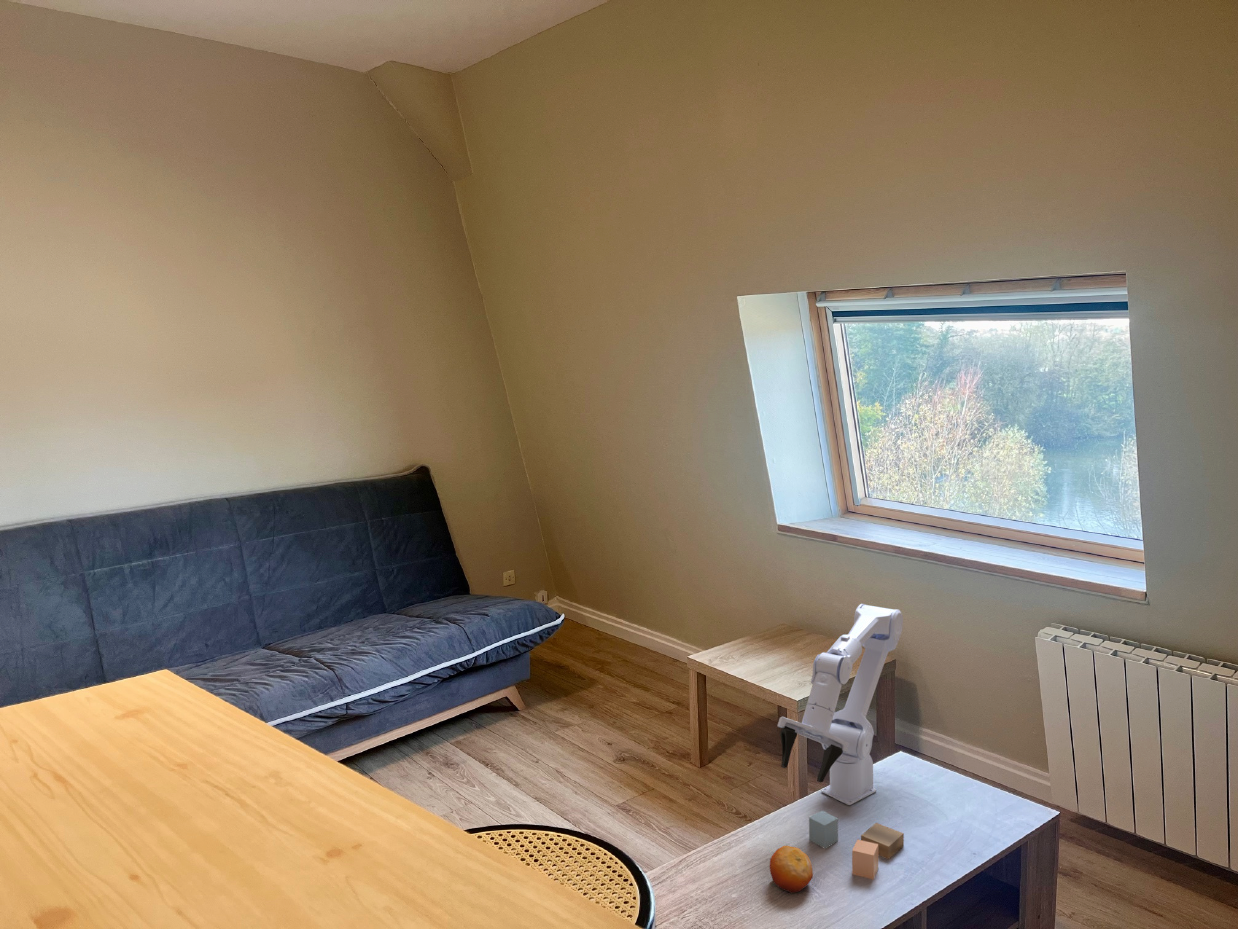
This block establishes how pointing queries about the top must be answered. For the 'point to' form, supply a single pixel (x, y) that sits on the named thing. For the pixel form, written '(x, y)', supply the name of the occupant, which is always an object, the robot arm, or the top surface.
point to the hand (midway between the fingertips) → (801, 774)
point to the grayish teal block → (823, 829)
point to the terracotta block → (865, 859)
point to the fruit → (790, 869)
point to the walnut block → (884, 839)
